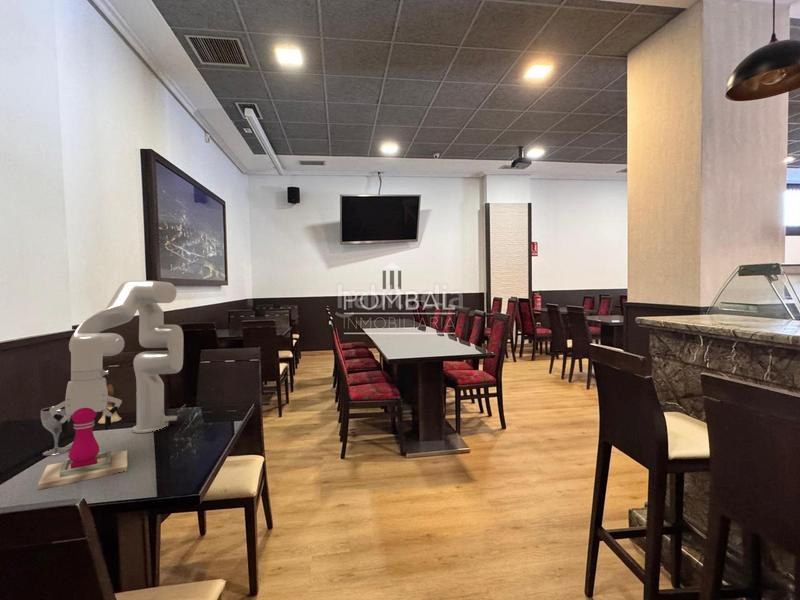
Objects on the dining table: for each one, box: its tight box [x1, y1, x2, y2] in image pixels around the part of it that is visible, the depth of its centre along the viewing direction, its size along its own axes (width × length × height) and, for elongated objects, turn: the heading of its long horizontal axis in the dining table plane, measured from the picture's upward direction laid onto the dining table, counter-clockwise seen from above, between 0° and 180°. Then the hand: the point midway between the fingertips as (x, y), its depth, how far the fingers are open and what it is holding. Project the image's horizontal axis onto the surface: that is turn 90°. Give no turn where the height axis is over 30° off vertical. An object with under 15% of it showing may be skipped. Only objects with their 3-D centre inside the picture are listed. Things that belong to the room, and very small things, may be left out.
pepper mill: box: [68, 408, 100, 469], centre depth 117 cm, size 7×7×20 cm
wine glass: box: [40, 405, 71, 456], centre depth 134 cm, size 8×8×15 cm
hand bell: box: [97, 384, 122, 425], centre depth 170 cm, size 8×8×16 cm
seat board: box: [37, 450, 128, 491], centre depth 118 cm, size 20×16×3 cm
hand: (87, 431), depth 118 cm, fingers open, 9 cm apart
